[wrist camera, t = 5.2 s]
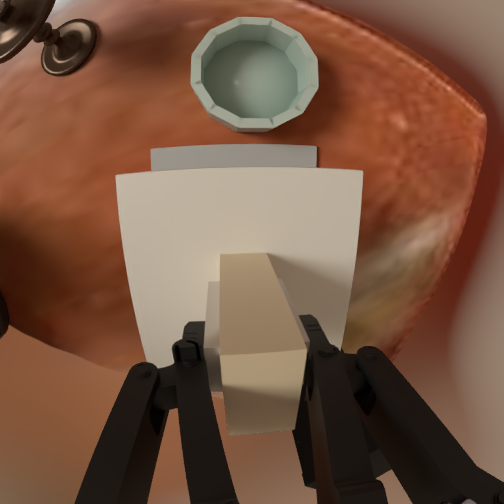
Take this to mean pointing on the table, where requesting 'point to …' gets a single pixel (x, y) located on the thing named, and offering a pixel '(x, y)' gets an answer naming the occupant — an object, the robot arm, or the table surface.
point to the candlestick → (44, 35)
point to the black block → (306, 451)
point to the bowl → (253, 74)
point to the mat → (233, 156)
